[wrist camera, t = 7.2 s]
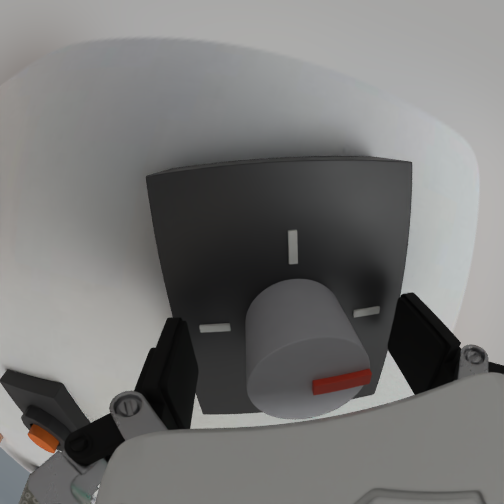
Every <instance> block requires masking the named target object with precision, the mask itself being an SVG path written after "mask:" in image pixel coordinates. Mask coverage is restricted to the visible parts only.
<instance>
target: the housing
mask: <svg viewBox="0 0 504 504" xmlns="http://www.w3.org/2000/svg"><path fill="white" fill-rule="evenodd" d="M0 383H1V384H2V385H3V387H4V388H5V390H6V391H7V393H8V394H9V395H10V397H11V398H12V399H13V401H14V402H15V403H16V405H17V406H18V407H19V408H20V410H21V411H22V412H23V415H22V417H21V419H22V421H23V423H24V425H25V426H26V427H27V428H28V429H29V430H30V429H31V427H32V425H33V424H35V425H38V426H40V427H41V428H43V429H44V430H46V431H47V432H49V433H50V434H51V435H52V436H54V437H55V438H56V439H57V440H58V441H59V444H58V446H57V448H56V449H57V450H60V451H63V450H64V442H65V440H66V438H67V437H68V435H69V434H71V433H72V432H74V431H76V430H78V429H80V428H82V427H84V426H86V425H88V424H90V422H89V421H88V420H87V418H86V417H85V416H84V414H83V413H82V412H81V410H80V409H79V407H78V406H77V405H76V403H75V402H74V400H73V399H72V397H71V396H70V394H69V393H68V391H67V390H66V388H65V387H64V385H63V384H62V383H57V382H52V381H48V380H44V379H40V378H36V377H32V376H28V375H25V374H21V373H18V372H14V371H11V370H7V371H6V372H5V373H4V375H3V376H2V377H1V379H0Z"/></svg>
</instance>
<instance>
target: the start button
mask: <svg viewBox="0 0 504 504" xmlns="http://www.w3.org/2000/svg"><path fill="white" fill-rule="evenodd" d="M28 436H29V438H30V439H31V440H32V441H33V442H34V443H36V444H37V445H38V446H40V447H41V448H43V449H44V450H46V451H48V452H51V453H55V451H56V448H57V446H58V444H59V441H58V440H57V439H56V438H55V437H54V436H52V435H51V434H50V433H49V432H47V431H46V430H44V429H43V428H41V427H40V426H38V425H35V424H33V425H32V427H31V429H30V431H29V433H28Z"/></svg>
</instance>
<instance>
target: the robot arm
mask: <svg viewBox="0 0 504 504" xmlns="http://www.w3.org/2000/svg"><path fill="white" fill-rule="evenodd" d="M460 344H461V342H460V341H459V340H458V339H457V338H456V337H455V336H454V334H453V333H452V332H451V331H450V330H449V329H448V328H447V327H446V326H445V325H444V324H443V322H442V321H441V320H440V319H439V318H438V317H437V316H436V315H435V314H434V313H433V312H432V311H431V310H430V309H429V308H428V307H427V306H426V305H425V304H424V303H423V302H422V301H421V300H420V299H419V298H418V297H417V296H416V295H415V294H414V293H407V294H402V295H401V296H400V298H398V300H397V305H396V310H395V314H394V319H393V323H392V328H391V332H390V336H389V340H388V350H389V352H390V354H391V356H392V357H393V359H394V360H395V362H396V364H397V365H398V367H399V369H400V370H401V372H402V374H403V375H404V377H405V379H406V380H407V382H408V384H409V386H410V387H411V389H412V391H413V393H414V394H415V395H413V396H410V397H407V398H404V399H401V400H398V401H394V402H391V403H387V404H384V405H380V406H376V407H373V408H369V409H365V410H361V411H356V412H352V413H347V414H342V415H338V416H332V417H327V418H321V419H315V420H309V421H302V422H295V423H287V424H279V425H268V426H256V427H240V428H215V429H190V425H191V419H192V412H193V405H194V399H195V393H196V386H197V380H198V374H199V369H198V364H197V360H196V356H195V353H194V349H193V345H192V341H191V337H190V333H189V329H188V325H187V322H186V321H182V318H181V317H176V318H167V320H166V323H165V325H164V328H163V331H162V333H161V336H160V338H159V341H158V344H157V346H156V348H151V349H150V351H149V353H148V356H147V358H146V361H145V364H144V366H143V369H142V371H141V374H140V377H139V379H138V382H137V385H136V387H135V390H134V391H125V392H122V393H120V394H118V395H117V396H115V397H114V398H113V399H112V401H111V403H110V408H109V409H110V413H109V414H107V415H105V416H104V417H102V418H100V419H98V420H96V421H94V422H92V423H90V424H88V425H86V426H84V427H82V428H80V429H78V430H76V431H74V432H72V433H71V434H69V435H68V437H67V438H66V440H65V442H64V450H63V451H62V452H60V451H59V450H58V451H57V452H56V453H55V454H54V455H53V456H52V457H50V458H49V459H48V460H47V461H46V462H45V463H43V464H42V465H41V466H40V467H39V468H38V469H36V470H35V471H34V472H33V473H32V474H31V475H30V476H29V479H28V487H29V489H30V491H31V493H32V494H33V495H34V497H35V498H36V499H37V501H38V502H39V503H40V504H91V497H92V495H93V494H94V492H96V491H97V490H98V489H99V491H98V494H97V498H96V502H95V504H504V366H503V365H499V364H495V363H492V362H488V355H487V353H486V352H485V350H484V349H482V348H481V347H479V346H476V345H466V346H464V347H463V348H462V349H461V348H460V347H459V346H460ZM99 484H100V487H99V488H98V487H97V486H98V485H99Z"/></svg>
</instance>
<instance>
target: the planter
mask: <svg viewBox="0 0 504 504" xmlns="http://www.w3.org/2000/svg"><path fill="white" fill-rule="evenodd" d="M31 474H32V473H30V475H31ZM30 475H29V476H30ZM28 479H29V478H28ZM19 504H40V503H39V502H38V501H37V499H36V498H35V497H34V495H33V494H32V493H31V491H30V489H29V487H28V480H27V483H26V485H25V488H24V490H23V493H22V496H21V499H20V501H19Z"/></svg>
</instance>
